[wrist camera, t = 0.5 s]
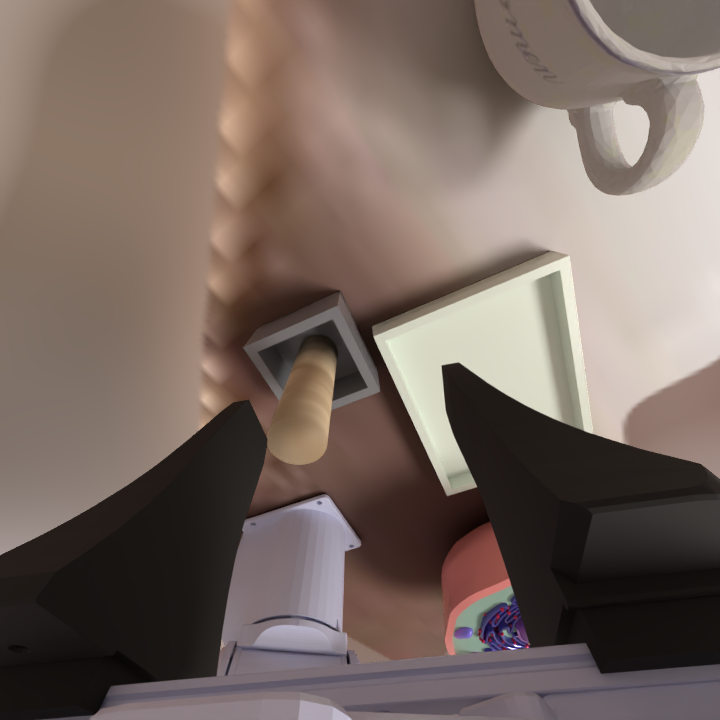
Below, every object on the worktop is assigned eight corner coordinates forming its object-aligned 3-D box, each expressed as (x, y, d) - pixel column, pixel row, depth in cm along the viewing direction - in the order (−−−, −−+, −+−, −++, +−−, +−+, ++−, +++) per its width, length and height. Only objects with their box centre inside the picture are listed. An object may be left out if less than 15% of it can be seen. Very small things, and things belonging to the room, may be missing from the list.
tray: (441, 479, 28) (447, 496, 26) (372, 326, 21) (373, 336, 20) (580, 435, 26) (595, 451, 24) (551, 250, 19) (569, 255, 18)
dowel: (310, 373, 22) (285, 471, 14) (292, 343, 21) (254, 430, 13) (344, 360, 22) (337, 453, 14) (327, 328, 21) (309, 409, 13)
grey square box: (302, 397, 24) (294, 423, 21) (258, 327, 21) (242, 347, 18) (377, 367, 23) (380, 391, 20) (340, 290, 20) (337, 305, 17)
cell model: (421, 595, 37) (446, 744, 27) (427, 471, 28) (468, 626, 18) (566, 588, 37) (646, 736, 26) (621, 461, 27) (775, 613, 17)
